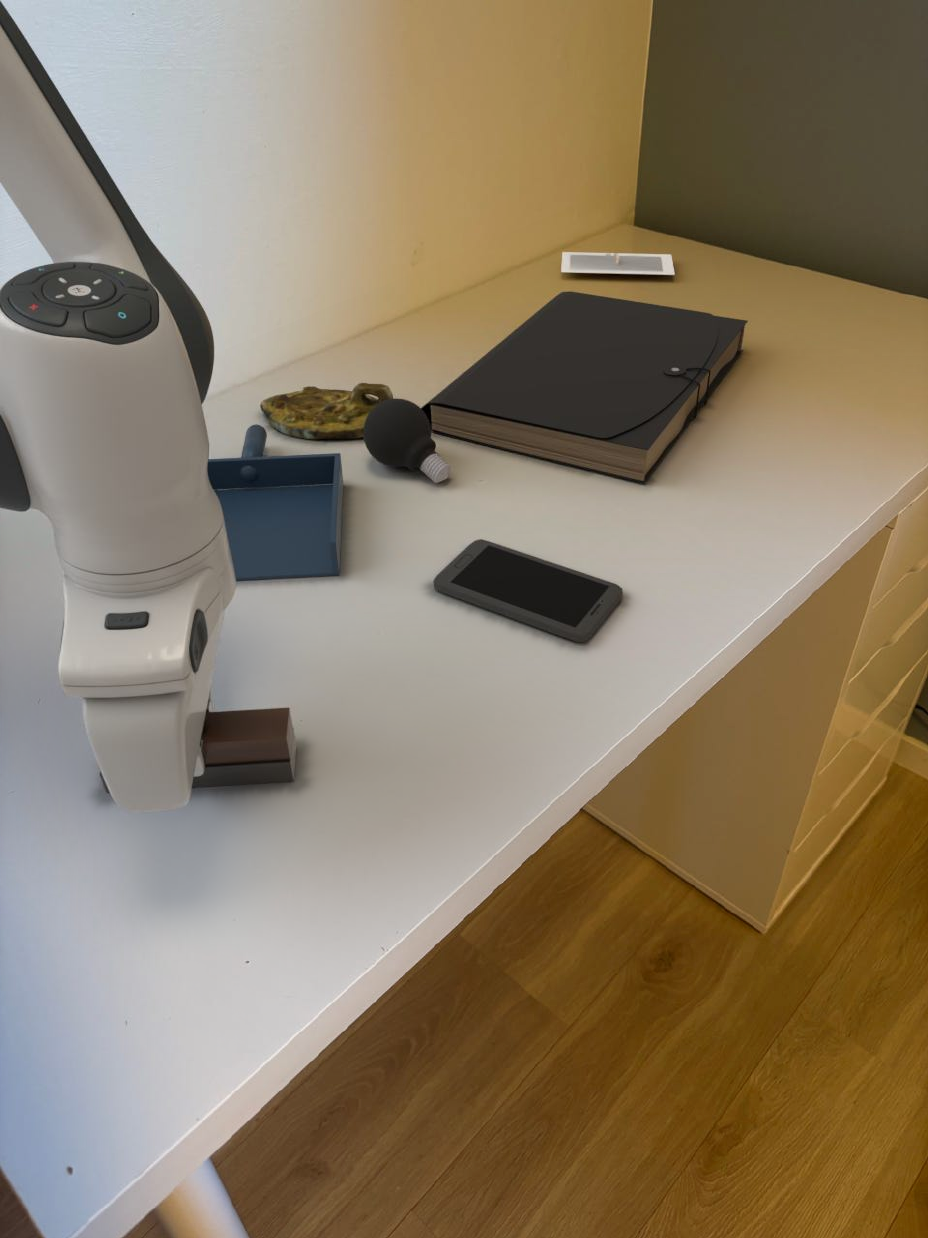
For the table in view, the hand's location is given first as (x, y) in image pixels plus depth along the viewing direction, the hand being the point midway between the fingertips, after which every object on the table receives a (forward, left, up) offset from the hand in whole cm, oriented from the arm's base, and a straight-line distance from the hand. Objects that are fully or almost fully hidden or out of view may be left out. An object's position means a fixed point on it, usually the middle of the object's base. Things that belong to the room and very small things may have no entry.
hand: (196, 744), depth 64 cm
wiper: (0, 0, -2) cm, 2 cm away
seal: (-34, +35, -2) cm, 49 cm away
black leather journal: (-20, +60, -2) cm, 63 cm away
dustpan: (-25, +20, -2) cm, 32 cm away
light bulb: (-21, +35, -2) cm, 41 cm away
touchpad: (-42, +89, -2) cm, 98 cm away
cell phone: (+1, +29, -2) cm, 29 cm away
